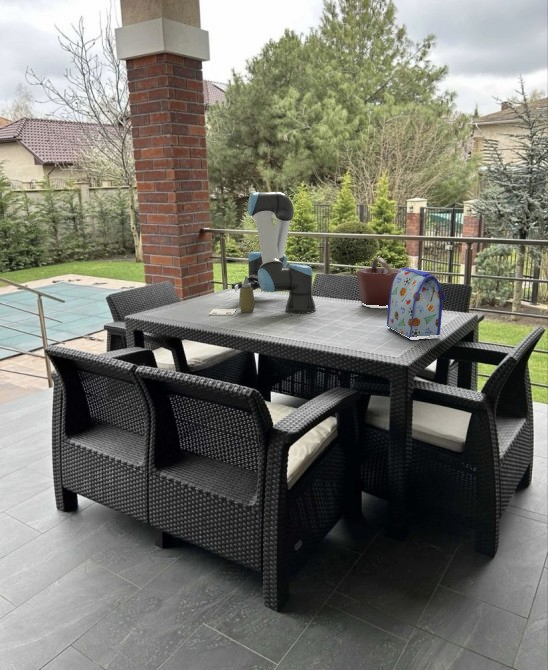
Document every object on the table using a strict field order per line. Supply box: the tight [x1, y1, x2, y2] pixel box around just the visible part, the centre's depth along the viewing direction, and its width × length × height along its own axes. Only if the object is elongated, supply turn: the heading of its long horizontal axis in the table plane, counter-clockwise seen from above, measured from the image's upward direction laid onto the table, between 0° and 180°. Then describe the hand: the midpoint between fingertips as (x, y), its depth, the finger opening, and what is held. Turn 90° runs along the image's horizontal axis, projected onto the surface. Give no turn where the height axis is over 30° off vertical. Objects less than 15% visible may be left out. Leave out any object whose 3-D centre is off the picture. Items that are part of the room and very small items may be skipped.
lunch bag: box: [386, 267, 447, 338], centre depth 220 cm, size 23×17×27 cm
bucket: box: [356, 257, 401, 306], centre depth 276 cm, size 24×22×25 cm
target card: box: [208, 308, 237, 316], centre depth 268 cm, size 12×12×1 cm
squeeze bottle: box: [238, 275, 256, 313], centre depth 267 cm, size 8×8×18 cm
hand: (248, 289), depth 276 cm, fingers open, 13 cm apart
